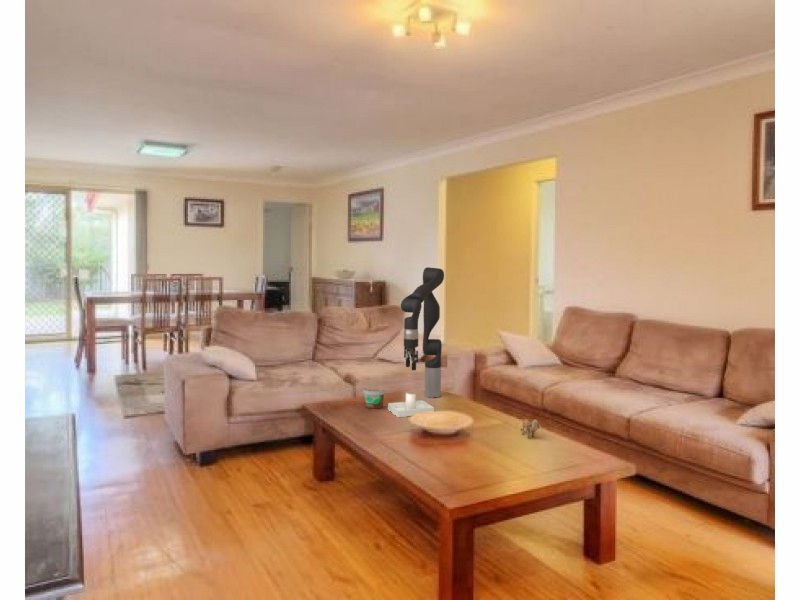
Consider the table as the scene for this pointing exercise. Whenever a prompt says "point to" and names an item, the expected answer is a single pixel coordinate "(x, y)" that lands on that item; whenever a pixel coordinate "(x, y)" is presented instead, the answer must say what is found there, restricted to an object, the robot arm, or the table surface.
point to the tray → (401, 411)
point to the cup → (410, 400)
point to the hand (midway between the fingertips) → (410, 368)
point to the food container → (374, 399)
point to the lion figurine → (530, 427)
